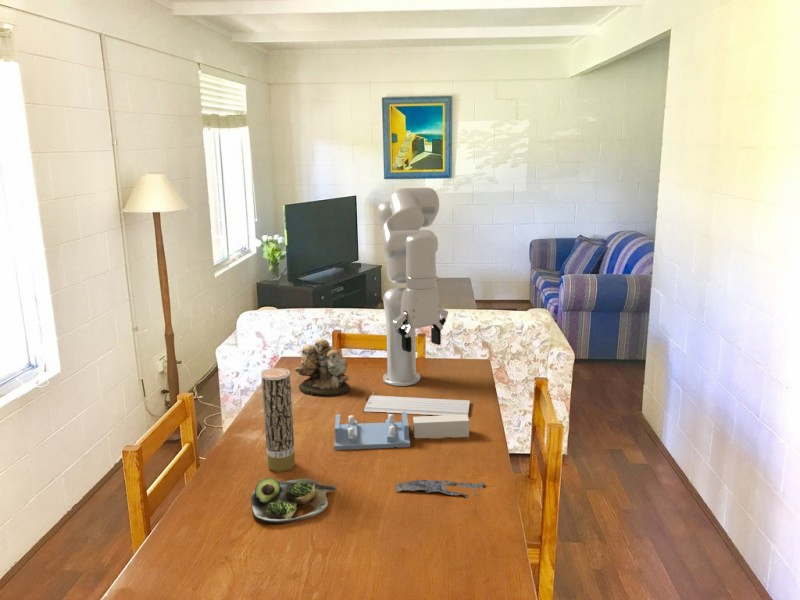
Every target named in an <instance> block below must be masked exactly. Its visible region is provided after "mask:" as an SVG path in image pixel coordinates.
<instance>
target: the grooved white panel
mask: <svg viewBox="0 0 800 600" xmlns="http://www.w3.org/2000/svg"><path fill="white" fill-rule="evenodd" d="M365 402H366V404H365V405H364V408H363V409H362V413H363V412H364V413H371V412H387V413H386V414H389V413H402V412H406V413H407V415H408V414H420V415H419V416H426V415H434V416H435V415H437V416H443V415H466V414H467V416H468V417H469V411H470V405H471V400H466V399H465V400H464V399H448V398H447V399H444V398H425V397H409V396H406V397H405V396H388V395H372V393H371V392H370V394H369V396H367V398H366V399H365Z"/></svg>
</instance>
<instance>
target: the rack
mask: <svg viewBox="0 0 800 600" xmlns="http://www.w3.org/2000/svg"><path fill="white" fill-rule="evenodd" d="M387 414H388V415H387V418H385V420H384V421H385V422H371V423H370V422H369V423H368V422H366V423H358V420H356V419H355V415H354V414H353V415H352V414H351V415H348V423H343V424H341V414H338V413H337V414H335V423H334V444H333V445H334V451H348V450H349V449H350V450H369V449H391V448H392V449H394V447H397V448H410V447H411V439H410V435H409V434H410V430H409V426H410V425H409V420H408V414H407V413H406V412H402V414H401V421H395V414H389V413H387Z"/></svg>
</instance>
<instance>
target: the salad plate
mask: <svg viewBox="0 0 800 600" xmlns="http://www.w3.org/2000/svg"><path fill="white" fill-rule="evenodd" d="M336 489H337V486H336V485H331V484H330V485H329V484H328V485H327V484H321V483H320V482H318V481H316V480H314V479H311V478H298V479H292V480H287V481H281V480H277V479H275V478H273V477H266V478H263V479H261V480H260V481H259V482H257V484H256V485H255V487H254V490H253V491H252V493H251V495H250V504H251V509H252V511H251V513H252V516H253V519H255V520H256V521H257V522H260V523H261V524H263V525H269V526H273V525H274V526H276V525H277V526H278V525H284V524H289V523H294V522H295V523H296V522H298V521H303V520H306V519H309V518H312V517H315V516H318V515H319V514H321V513H322V512H323V511H325V510H326V509H327V508H328V506H329V502H328V499H327V496H326V495H327V494H328V493H329V492H332V491H335V490H336ZM309 505H310V506H312V507H313V509H312V510H311V511H310V512H308V513H306V514H304V515H300V516H297V517H294V515H295V513H296V511H297V510H298V509H300V508H301V507H307V506H309ZM292 517H294V518H292Z"/></svg>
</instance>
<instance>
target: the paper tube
mask: <svg viewBox="0 0 800 600" xmlns="http://www.w3.org/2000/svg"><path fill="white" fill-rule="evenodd" d="M260 376H261V378H260V379H261V390H262V392H261V393H262V401H263V402H262V403H263V416H264V419H263V420H264V432H265V445H266V458H267V459H266V461H267V466H268V467H267V468H268V469H269V471H272V472H275V473H282V472H283V473H284V472H288V471H290V470H292V469H293V468H294V466H295V465H296V458H295V457H296V456H295V439H294V438H295V437H294V422H293V421H294V420H293V405H292V403H293V401H292V387H291V385H292V383H291V373H290V370H289V369H287V368H282V367H275V368H274V367H273V368H268V369H266V370H264V371H262V372H261V375H260Z"/></svg>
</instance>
